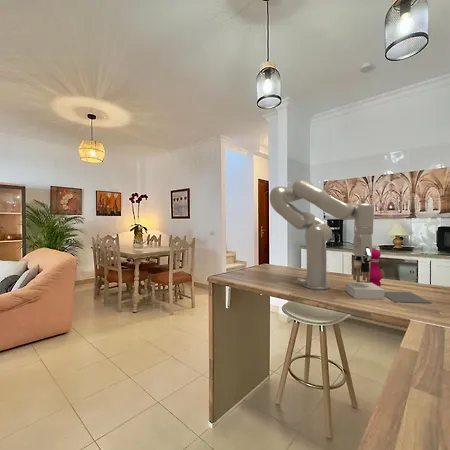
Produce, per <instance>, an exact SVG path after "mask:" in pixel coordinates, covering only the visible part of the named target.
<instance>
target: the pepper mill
mask: <svg viewBox="0 0 450 450" xmlns="http://www.w3.org/2000/svg"><path fill="white" fill-rule="evenodd" d="M371 256H372V257H371V260H370V283H373V284H375V285H377V286H378V287H380V285H382V284H381V283H382V282H381V280H382V278H383V276H382V275H383V274H382V273H381V272H382V271H381V270H380V268H379V267H380V266H379V262H380V258H381V252H380V251H379V250H378V249H377V248H376V246H373V245H372V255H371ZM366 279H367V272H366Z"/></svg>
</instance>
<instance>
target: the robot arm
mask: <svg viewBox="0 0 450 450" xmlns="http://www.w3.org/2000/svg"><path fill="white" fill-rule="evenodd" d="M302 199H303V200H305V201H307V202H309V203H311V204H312V205H314V206H315V207H317V208H319V209H320V210H322V211H323V212H324V213H327V214H328V215H330V216H333V217H334V218H336V219H338V220H354V221H353V234H354V235H353V236H354V237H353V242H352V251H351V252H352V254H353V255H354V260H362V263H361V269H360V273H361V272H362V273H363V272H369V265H370V260H371V257H372V256H371V255H372V247H373V241H372V240H373V237H372V236H373V234H374V232H373V231H374V216H375V215H374V213H375V212H374V211H375V206H374V204H372V203H366V202H365V203H349V202H348V203H347V202H343V201H341V200H339V199H337V198H335V197H333V196H332V195H329V194H328V193H327V191H326V190H325V189H322V187H321V188H320V187H318V186H316V185H314V183H312V182H311V181H308V180H304V179H297V180H295V181H294V182H293V184H292V186H290V187H286V186H275V187H274V188H272V189H271V190H270V193H269V203H270V205H271V207H272V208H273V210H274V211H275V212H276V213H277V214H278V215H280V216H281V217H282V218H283V219H284V220H285V221H286V222H287V223H289V224H290V225H291V226H292V227H294V229H296V230H299V231H303V230H305V233H304V239H305V245H306V247H305V248H306V275H305V276H304V277H297V278H296V281H297V283H300V284H301V283H303V287H305V288H307V289H309V290H310V289H311V290H319V291H321V290H322V291H323V290H328V289H330V288H331V286H330V284H329V283H327V279H328V278H327V245H326V242H327V241H330V239H331V238H332V236H333V231H332V228H331V227H330V226H329V225H328V224H327V223H326V222H325V221H323V220H322V219H320V218H319V217H317V215H314V213H311V212H307V211H305V212H304V211H302V210H300V209H299V208H298V207H296V206H295V205H293V203H292V202H296V201H299V200H302Z"/></svg>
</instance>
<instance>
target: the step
mask: <svg viewBox="0 0 450 450" xmlns="http://www.w3.org/2000/svg"><path fill="white" fill-rule="evenodd" d="M344 288H345V289H344V290H345V292H346V291H347V292H346V293H348V294H349V295H350V296H351V297H353V299H360V300H361V299H365V300H366V299H367V300H385V296H384V292H385V289H384V288H382V287H380V286H377V285H375V284H373V283H367V282H357V281H356V282H355V281H354V282H352V281H351V282H349V281H346V282H345V285H344Z"/></svg>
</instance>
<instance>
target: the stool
mask: <svg viewBox="0 0 450 450" xmlns="http://www.w3.org/2000/svg"><path fill="white" fill-rule="evenodd" d="M361 263H362V260H355V259H354V260H353V272H352V273H353V276H352V279H353V281H356V282H359V283H361V282H360V280H361ZM362 281H366V283H370V265H369V272H367V278H366V272H362Z"/></svg>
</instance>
